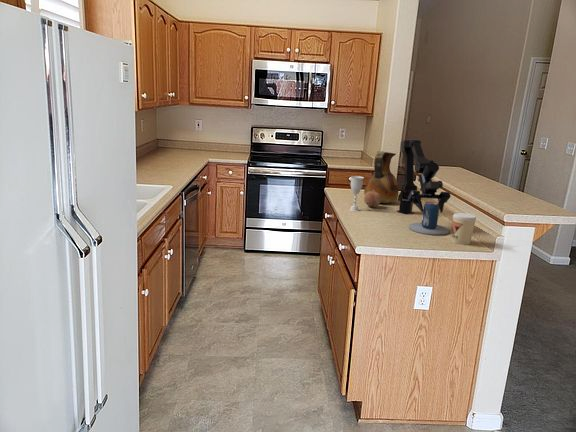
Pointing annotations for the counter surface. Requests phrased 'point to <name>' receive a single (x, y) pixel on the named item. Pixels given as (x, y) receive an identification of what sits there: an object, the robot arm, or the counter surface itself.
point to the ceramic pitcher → (383, 178)
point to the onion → (372, 198)
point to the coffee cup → (462, 228)
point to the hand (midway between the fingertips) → (432, 211)
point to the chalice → (356, 189)
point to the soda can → (430, 215)
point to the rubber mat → (437, 231)
